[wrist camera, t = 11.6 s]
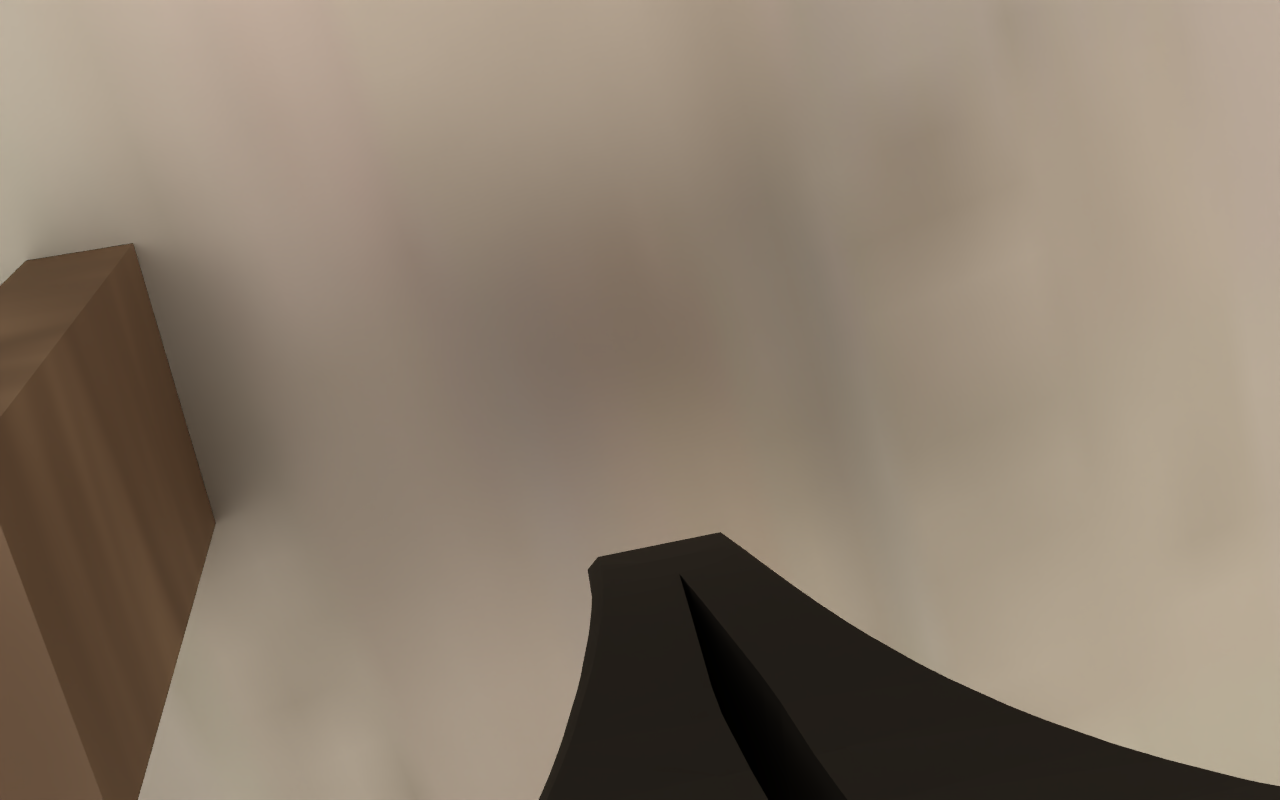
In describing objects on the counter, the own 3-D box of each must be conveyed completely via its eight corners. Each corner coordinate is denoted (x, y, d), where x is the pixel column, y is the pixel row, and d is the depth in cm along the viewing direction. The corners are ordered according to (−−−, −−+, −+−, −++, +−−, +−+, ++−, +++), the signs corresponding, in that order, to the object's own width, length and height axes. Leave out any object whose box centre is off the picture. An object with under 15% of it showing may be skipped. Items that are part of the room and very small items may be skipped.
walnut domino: (132, 243, 19) (-27, 453, 12) (215, 523, 21) (122, 852, 14) (26, 260, 19) (-205, 484, 12) (119, 541, 21) (-27, 885, 13)
